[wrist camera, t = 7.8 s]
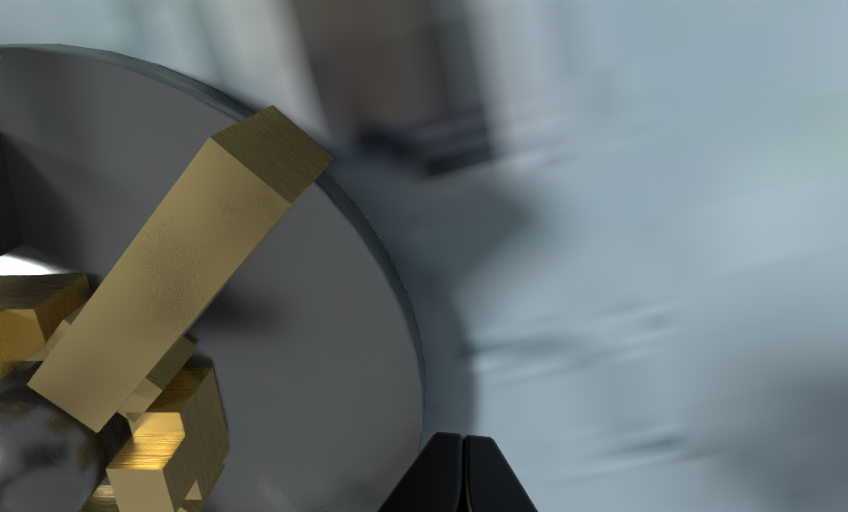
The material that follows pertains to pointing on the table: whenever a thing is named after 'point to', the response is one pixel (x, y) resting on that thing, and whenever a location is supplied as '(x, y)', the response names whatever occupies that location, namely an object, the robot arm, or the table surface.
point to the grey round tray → (224, 318)
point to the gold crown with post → (160, 316)
